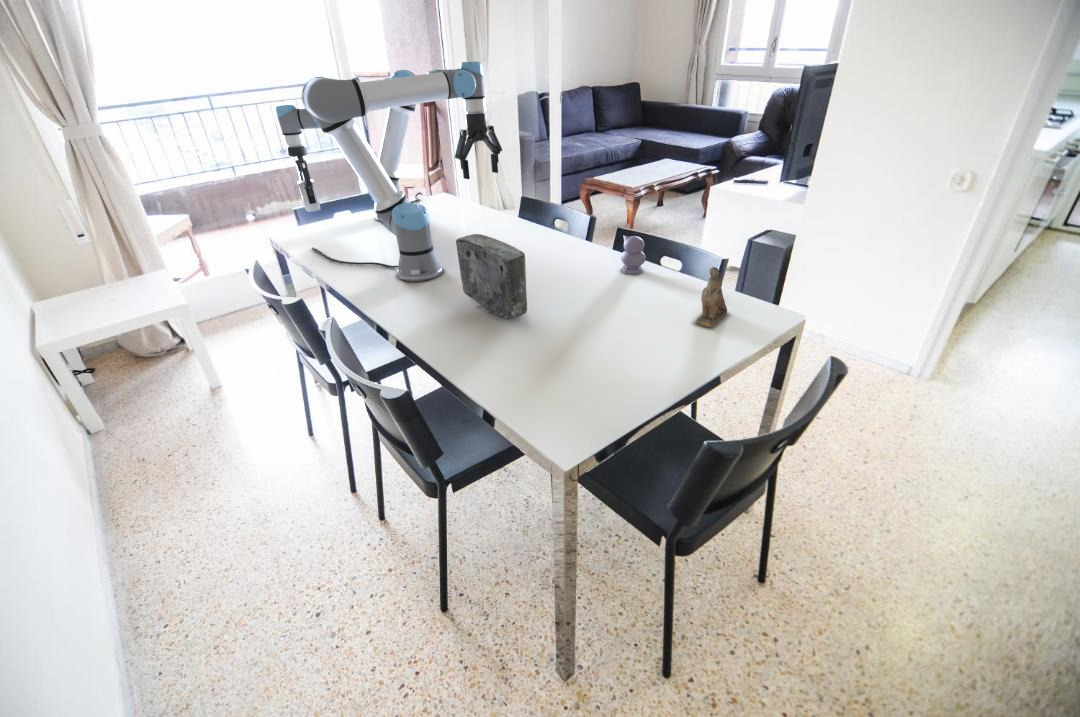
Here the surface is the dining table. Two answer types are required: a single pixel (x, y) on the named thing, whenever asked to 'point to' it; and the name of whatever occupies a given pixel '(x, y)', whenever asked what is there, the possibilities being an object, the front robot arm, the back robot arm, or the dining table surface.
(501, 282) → the concrete block
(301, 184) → the canister
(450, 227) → the dining table surface
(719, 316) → the brown carved statuette
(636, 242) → the cat figurine
